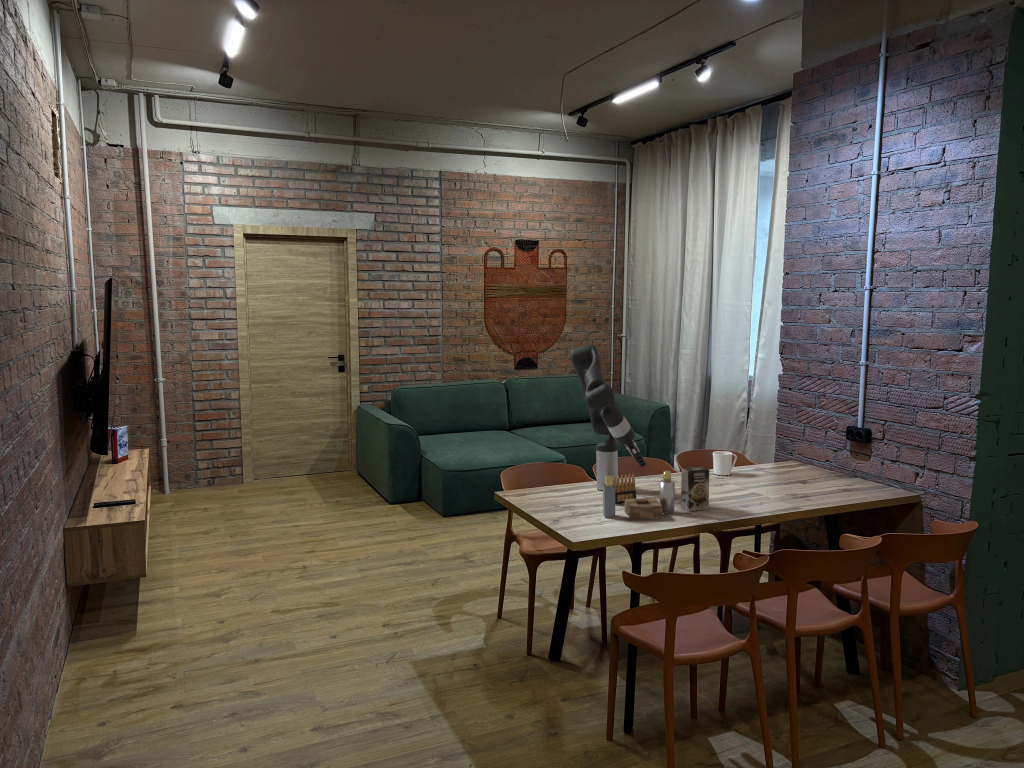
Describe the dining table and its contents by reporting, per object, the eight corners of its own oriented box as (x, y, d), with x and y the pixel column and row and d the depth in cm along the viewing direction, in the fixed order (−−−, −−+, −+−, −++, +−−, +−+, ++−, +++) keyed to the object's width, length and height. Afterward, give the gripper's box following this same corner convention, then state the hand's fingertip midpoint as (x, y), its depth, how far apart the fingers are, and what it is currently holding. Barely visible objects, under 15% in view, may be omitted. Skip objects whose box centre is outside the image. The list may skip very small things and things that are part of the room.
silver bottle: (658, 510, 281) (658, 470, 280) (672, 510, 281) (672, 469, 280) (661, 514, 276) (661, 473, 274) (676, 514, 276) (676, 473, 274)
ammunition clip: (634, 501, 296) (634, 472, 295) (636, 502, 294) (636, 473, 293) (611, 504, 292) (611, 475, 291) (613, 505, 290) (613, 476, 289)
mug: (712, 476, 337) (712, 454, 336) (712, 471, 345) (713, 450, 344) (736, 477, 333) (737, 455, 332) (736, 472, 342) (736, 451, 341)
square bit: (603, 514, 277) (602, 474, 275) (613, 514, 277) (613, 473, 275) (604, 517, 273) (604, 476, 271) (615, 517, 273) (615, 476, 271)
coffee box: (688, 511, 278) (689, 470, 277) (680, 507, 285) (680, 467, 283) (709, 509, 281) (709, 468, 279) (700, 505, 287) (701, 465, 286)
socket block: (624, 511, 281) (624, 498, 281) (655, 510, 281) (655, 497, 281) (630, 520, 269) (630, 507, 269) (662, 519, 269) (662, 506, 269)
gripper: (606, 425, 272) (625, 455, 279) (617, 444, 259) (637, 475, 266) (623, 415, 271) (642, 445, 278) (635, 433, 258) (654, 464, 265)
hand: (640, 459), depth 272 cm, fingers open, 8 cm apart
